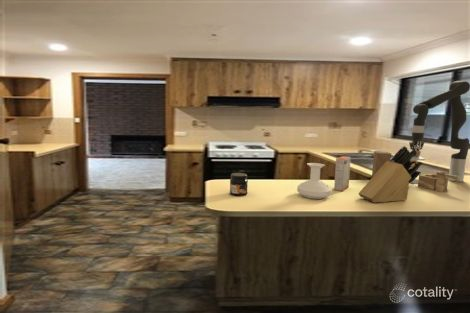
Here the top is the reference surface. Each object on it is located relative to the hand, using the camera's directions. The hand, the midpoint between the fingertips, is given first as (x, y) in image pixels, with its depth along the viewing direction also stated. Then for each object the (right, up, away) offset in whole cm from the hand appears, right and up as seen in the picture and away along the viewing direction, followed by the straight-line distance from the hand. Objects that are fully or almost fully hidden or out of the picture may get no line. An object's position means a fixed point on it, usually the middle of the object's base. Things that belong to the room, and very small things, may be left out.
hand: (415, 155), depth 228 cm
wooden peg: (+4, -15, -28) cm, 32 cm away
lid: (-4, -3, 0) cm, 5 cm away
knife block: (-43, -26, -47) cm, 69 cm away
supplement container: (-131, -24, -44) cm, 141 cm away
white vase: (-87, -25, -45) cm, 101 cm away
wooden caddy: (+4, -23, -17) cm, 29 cm away
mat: (-1, -19, +3) cm, 20 cm away
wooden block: (-20, -18, +13) cm, 30 cm away
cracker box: (-64, -22, -25) cm, 72 cm away
